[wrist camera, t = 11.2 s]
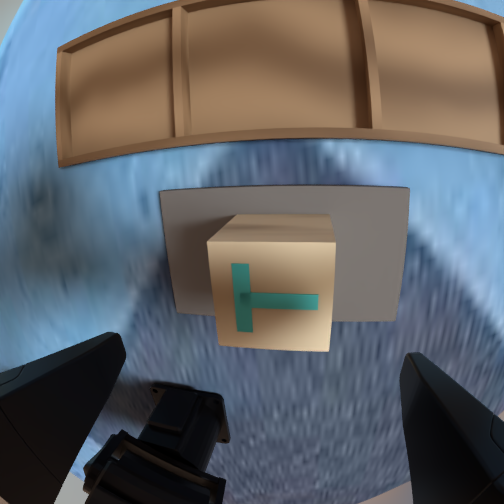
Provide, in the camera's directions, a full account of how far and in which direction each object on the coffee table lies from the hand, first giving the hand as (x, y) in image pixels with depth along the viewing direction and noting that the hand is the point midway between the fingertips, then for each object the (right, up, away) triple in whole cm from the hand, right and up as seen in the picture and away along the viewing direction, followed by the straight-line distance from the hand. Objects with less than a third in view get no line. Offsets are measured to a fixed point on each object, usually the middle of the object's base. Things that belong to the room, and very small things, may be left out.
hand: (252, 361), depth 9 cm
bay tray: (+1, +13, +6) cm, 15 cm away
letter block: (+2, +3, +9) cm, 9 cm away
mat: (+2, +3, +9) cm, 10 cm away
